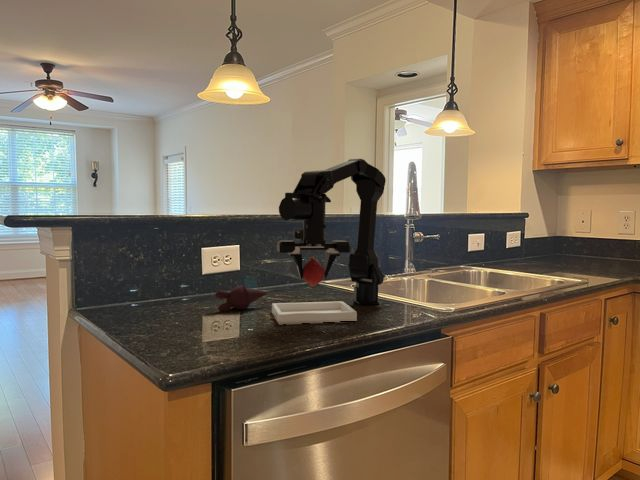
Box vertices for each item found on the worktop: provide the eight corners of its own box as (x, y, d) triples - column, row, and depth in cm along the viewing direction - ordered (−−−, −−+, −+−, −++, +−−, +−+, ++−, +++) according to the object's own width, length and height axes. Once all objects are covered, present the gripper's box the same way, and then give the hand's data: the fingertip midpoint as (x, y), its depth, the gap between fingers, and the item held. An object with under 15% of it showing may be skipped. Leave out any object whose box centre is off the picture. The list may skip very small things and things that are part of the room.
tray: (342, 310, 133) (342, 301, 133) (356, 321, 121) (356, 312, 120) (271, 312, 129) (272, 303, 128) (278, 324, 116) (279, 314, 116)
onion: (326, 285, 126) (327, 256, 125) (319, 289, 121) (320, 258, 120) (306, 284, 128) (307, 254, 127) (298, 287, 123) (299, 257, 122)
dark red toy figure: (259, 282, 140) (210, 290, 132) (269, 279, 133) (218, 288, 125) (263, 305, 139) (214, 315, 131) (274, 303, 133) (223, 314, 125)
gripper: (340, 219, 133) (339, 274, 134) (274, 218, 129) (273, 274, 130) (352, 220, 122) (350, 280, 123) (280, 219, 118) (279, 281, 119)
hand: (313, 279), depth 124 cm, fingers closed on onion, 6 cm apart
